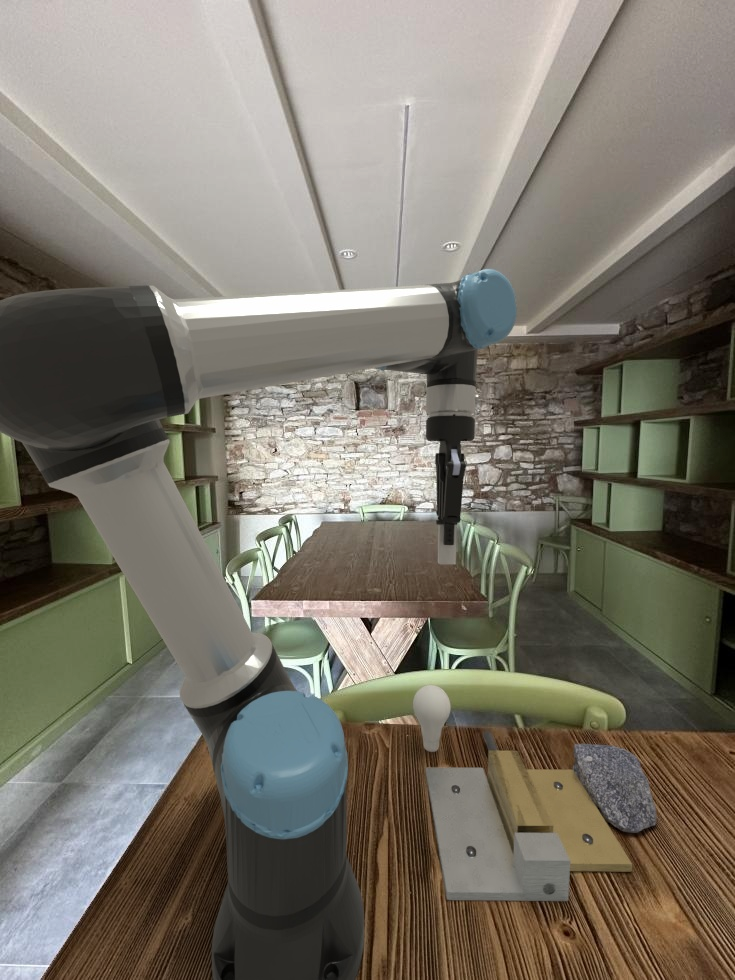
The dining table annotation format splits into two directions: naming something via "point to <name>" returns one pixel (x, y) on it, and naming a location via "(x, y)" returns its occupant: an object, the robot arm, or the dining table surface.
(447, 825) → the zinc leaf
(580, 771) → the rock
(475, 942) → the dining table surface
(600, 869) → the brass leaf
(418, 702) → the lightbulb
